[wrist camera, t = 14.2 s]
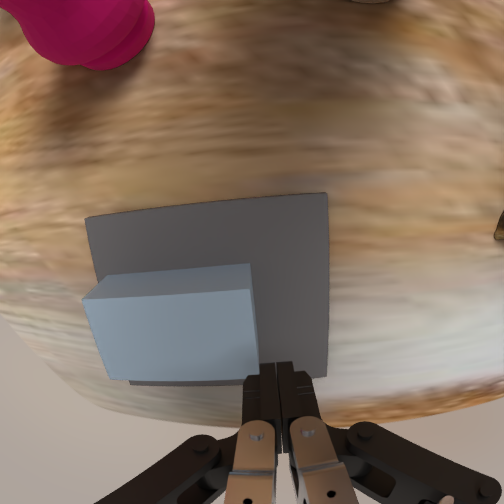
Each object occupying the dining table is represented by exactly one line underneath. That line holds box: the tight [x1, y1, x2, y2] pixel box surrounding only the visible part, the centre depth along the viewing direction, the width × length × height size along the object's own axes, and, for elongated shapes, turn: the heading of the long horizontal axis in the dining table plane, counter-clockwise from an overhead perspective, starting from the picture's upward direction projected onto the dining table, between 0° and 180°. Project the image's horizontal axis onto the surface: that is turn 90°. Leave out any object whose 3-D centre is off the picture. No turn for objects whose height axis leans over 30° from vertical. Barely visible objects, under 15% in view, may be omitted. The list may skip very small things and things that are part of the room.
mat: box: [85, 192, 329, 386], centre depth 22 cm, size 14×16×1 cm
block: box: [82, 263, 259, 381], centre depth 19 cm, size 6×4×10 cm
